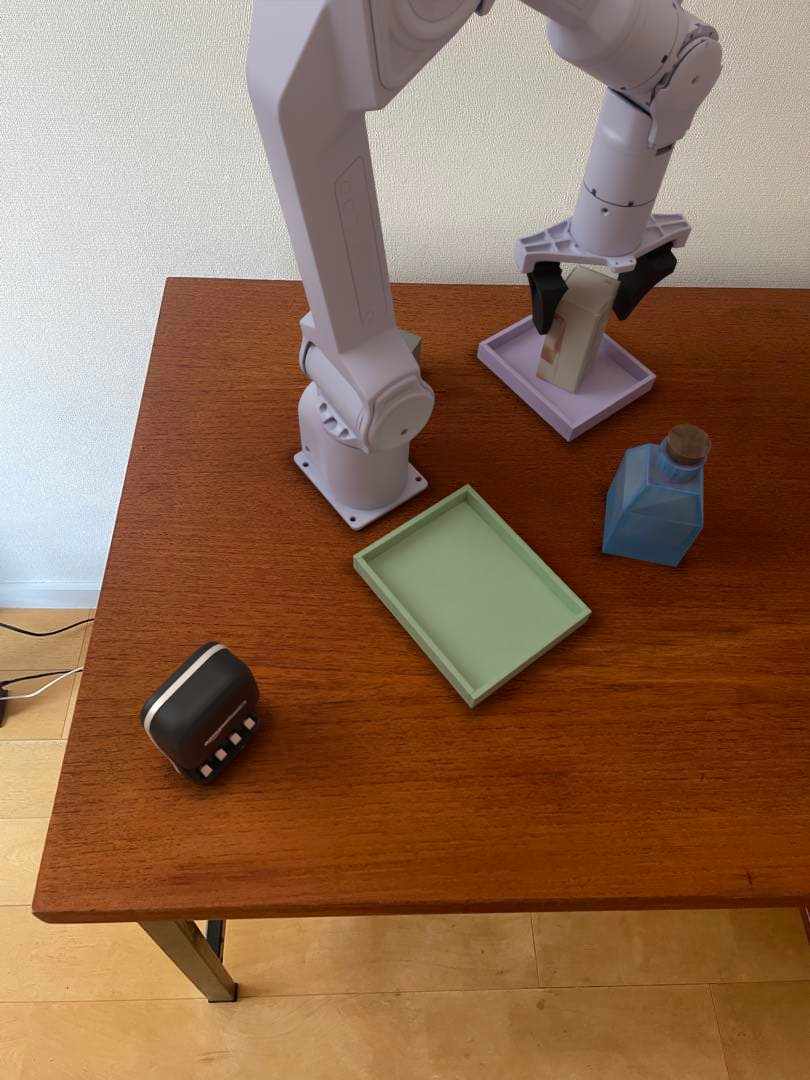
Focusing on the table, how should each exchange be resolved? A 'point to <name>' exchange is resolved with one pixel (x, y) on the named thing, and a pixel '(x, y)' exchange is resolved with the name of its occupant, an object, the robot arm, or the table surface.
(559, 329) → the cream cardboard box
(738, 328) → the table surface
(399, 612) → the sage tray
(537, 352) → the lavender tray
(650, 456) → the perfume bottle
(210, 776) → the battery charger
